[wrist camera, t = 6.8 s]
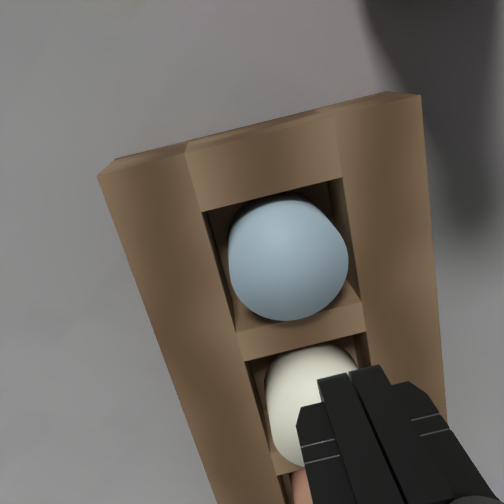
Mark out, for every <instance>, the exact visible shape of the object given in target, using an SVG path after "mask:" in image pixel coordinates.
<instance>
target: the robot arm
mask: <svg viewBox="0 0 504 504" xmlns="http://www.w3.org/2000/svg"><path fill="white" fill-rule="evenodd" d="M317 385H318V390H319V394H320V399H321V402H320V403H316V404H312V405H307V406H303V407H301V408H300V412H299V415H298V419H297V422H296V430H297V434H298V439H299V443H300V448H301V452H302V457H303V461H304V465H305V470H306V475H307V479H308V484H309V488H310V493H311V497H312V502H313V504H504V503H503V502H501V501H500V500H499V499H498V498H497V497H496V496H495V495H494V493H493V492H492V491H491V489H490V488H489V487H488V485H487V483H486V482H485V480H484V479H483V477H482V476H481V474H480V473H479V471H478V470H477V468H476V467H475V465H474V464H473V462H472V461H471V459H470V458H469V456H468V455H467V453H466V452H465V450H464V449H463V447H462V446H461V444H460V443H459V441H458V439H457V438H456V436H455V435H454V433H453V432H452V430H451V431H450V429H449V426H448V424H447V423H446V421H445V420H444V418H443V417H442V415H440V413H439V411H438V409H437V408H436V406H435V405H434V403H433V402H432V400H431V399H430V397H429V396H428V394H427V393H425V392H424V391H423V390H421V389H420V388H418V387H417V386H415V385H414V384H412V383H411V382H409V381H406V382H402V383H398V384H394V385H391V383H390V382H389V380H388V378H387V376H386V374H385V373H384V371H383V369H382V368H381V366H380V365H379V364H378V365H373V366H369V367H365V368H361V369H357V370H353V371H349V372H348V374H347V372H345V373H341V374H337V375H333V376H329V377H325V378H321V379H317Z"/></svg>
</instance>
